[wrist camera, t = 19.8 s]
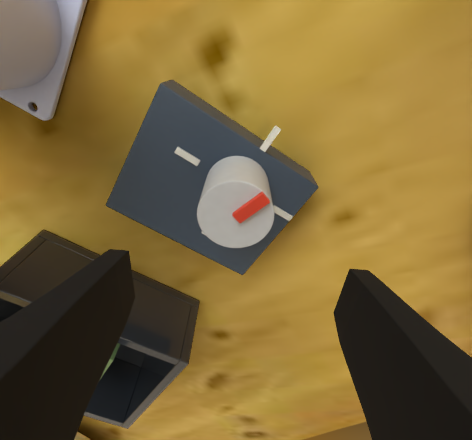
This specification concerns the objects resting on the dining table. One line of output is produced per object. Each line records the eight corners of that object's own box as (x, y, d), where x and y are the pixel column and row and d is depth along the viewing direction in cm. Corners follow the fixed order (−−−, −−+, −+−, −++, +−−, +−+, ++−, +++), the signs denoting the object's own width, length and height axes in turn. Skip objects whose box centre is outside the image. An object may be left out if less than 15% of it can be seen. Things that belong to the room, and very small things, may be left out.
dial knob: (233, 223, 17) (230, 264, 14) (192, 182, 16) (179, 215, 13) (281, 190, 16) (290, 225, 13) (241, 141, 15) (240, 166, 11)
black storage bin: (14, 315, 26) (-41, 378, 21) (43, 228, 21) (-20, 283, 16) (147, 365, 29) (127, 429, 24) (200, 300, 24) (188, 364, 19)
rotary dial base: (120, 188, 19) (103, 207, 17) (183, 54, 15) (172, 54, 13) (242, 253, 22) (242, 277, 19) (324, 154, 18) (336, 168, 15)
